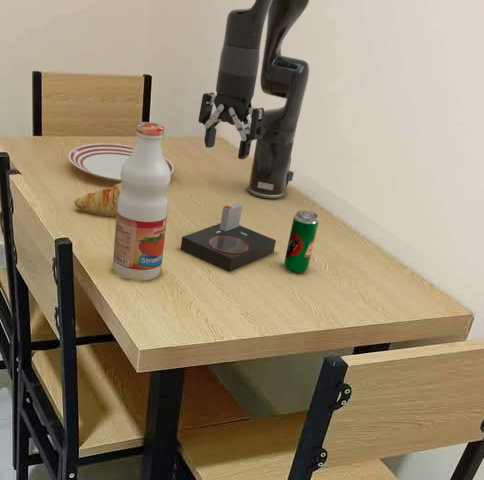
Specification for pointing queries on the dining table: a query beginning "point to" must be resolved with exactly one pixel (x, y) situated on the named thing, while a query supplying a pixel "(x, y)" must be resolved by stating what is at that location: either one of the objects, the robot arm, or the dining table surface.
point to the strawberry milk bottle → (142, 207)
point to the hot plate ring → (228, 244)
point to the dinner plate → (104, 160)
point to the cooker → (201, 249)
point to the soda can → (301, 241)
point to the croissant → (101, 201)
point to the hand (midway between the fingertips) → (225, 152)
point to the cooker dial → (231, 217)
